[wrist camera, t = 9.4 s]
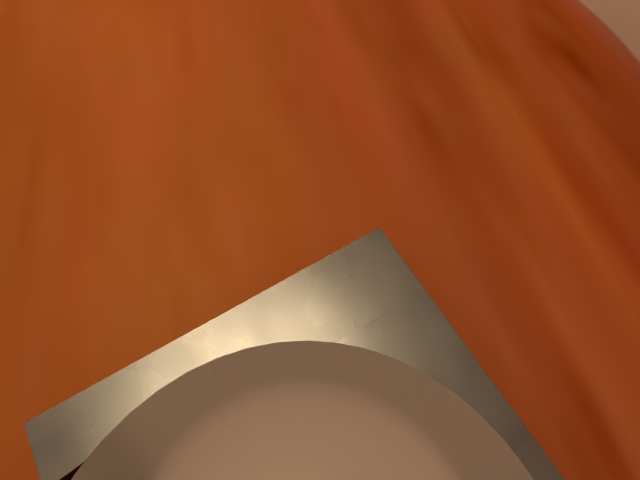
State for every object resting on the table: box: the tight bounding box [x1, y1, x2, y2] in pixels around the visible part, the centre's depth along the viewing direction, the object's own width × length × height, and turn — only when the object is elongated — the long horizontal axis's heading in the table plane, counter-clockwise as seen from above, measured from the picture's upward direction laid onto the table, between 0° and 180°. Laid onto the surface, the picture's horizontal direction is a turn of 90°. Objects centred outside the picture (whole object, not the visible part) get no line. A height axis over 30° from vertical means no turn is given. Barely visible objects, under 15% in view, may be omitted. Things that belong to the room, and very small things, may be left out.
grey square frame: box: [24, 228, 564, 480], centre depth 14 cm, size 12×14×3 cm
